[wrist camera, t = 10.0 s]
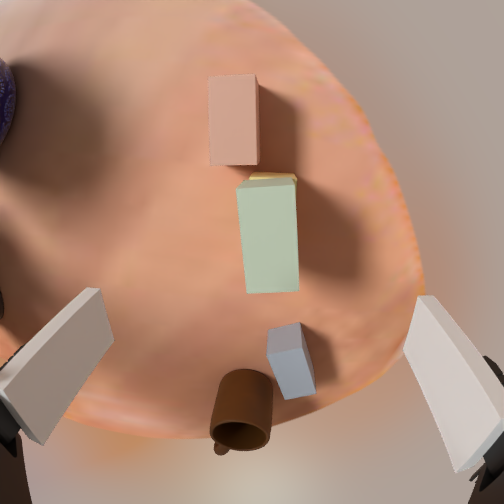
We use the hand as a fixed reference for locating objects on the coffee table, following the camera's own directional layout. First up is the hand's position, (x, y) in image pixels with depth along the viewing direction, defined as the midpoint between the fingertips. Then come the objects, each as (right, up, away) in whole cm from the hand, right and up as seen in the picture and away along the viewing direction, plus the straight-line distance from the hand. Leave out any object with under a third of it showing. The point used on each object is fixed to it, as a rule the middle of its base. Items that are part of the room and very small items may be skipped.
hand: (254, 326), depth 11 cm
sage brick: (+2, +5, +15) cm, 16 cm away
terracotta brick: (-1, +16, +16) cm, 23 cm away
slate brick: (+5, -10, +25) cm, 28 cm away
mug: (-2, -18, +29) cm, 34 cm away
